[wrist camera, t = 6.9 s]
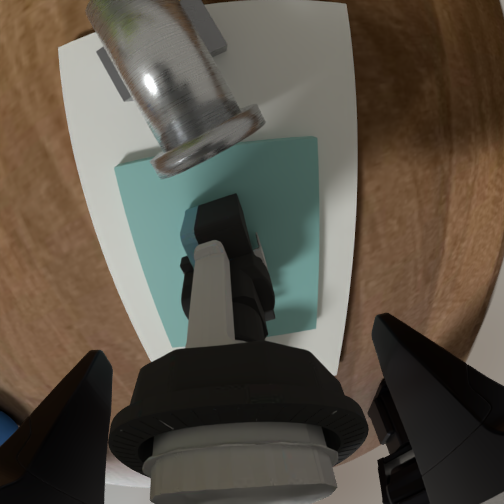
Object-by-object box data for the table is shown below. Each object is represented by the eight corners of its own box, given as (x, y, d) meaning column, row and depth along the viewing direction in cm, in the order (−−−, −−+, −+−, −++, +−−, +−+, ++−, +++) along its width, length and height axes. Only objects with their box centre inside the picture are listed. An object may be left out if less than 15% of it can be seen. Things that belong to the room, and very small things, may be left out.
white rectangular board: (339, 8, 9) (351, 0, 8) (333, 366, 20) (338, 381, 19) (66, 49, 8) (51, 46, 7) (171, 388, 20) (170, 403, 18)
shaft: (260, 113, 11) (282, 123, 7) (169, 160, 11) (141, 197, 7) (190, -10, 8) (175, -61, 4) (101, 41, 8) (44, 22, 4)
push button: (303, 299, 14) (370, 496, 6) (202, 328, 15) (204, 526, 6) (269, 171, 11) (402, 422, 2) (143, 214, 11) (40, 461, 3)
